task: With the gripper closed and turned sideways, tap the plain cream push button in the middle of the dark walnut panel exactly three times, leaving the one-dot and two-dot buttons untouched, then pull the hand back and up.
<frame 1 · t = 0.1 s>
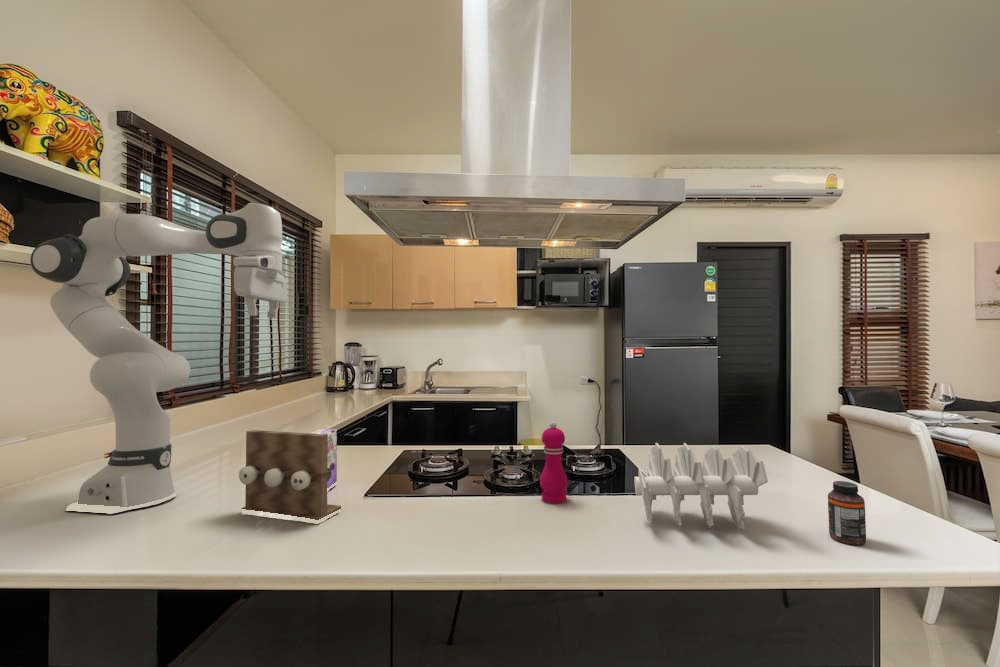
hand: (262, 317, 118), 48 cm above the countertop, tool pointing down, fingers open, 8 cm apart
button panel: (282, 517, 105), on the countertop
pepper mill: (553, 500, 116), on the countertop
one dot button: (255, 472, 107), point 10 cm above the countertop, slide at 0.0 cm
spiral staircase: (694, 525, 99), on the countertop
two dot button: (306, 477, 102), point 10 cm above the countertop, slide at 0.0 cm
supplement bottle: (847, 541, 90), on the countertop
candy box: (317, 494, 122), on the countertop
plain button: (280, 475, 104), point 10 cm above the countertop, slide at 0.0 cm
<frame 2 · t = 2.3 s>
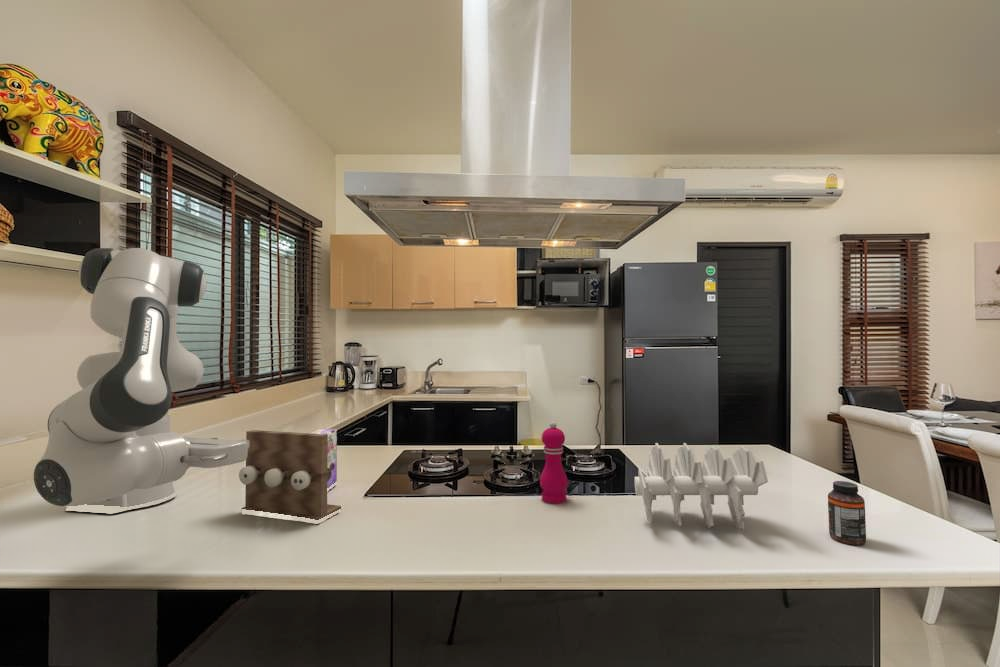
hand: (230, 442, 92), 20 cm above the countertop, tool horizontal, fingers open, 7 cm apart
nothing on the countertop moved.
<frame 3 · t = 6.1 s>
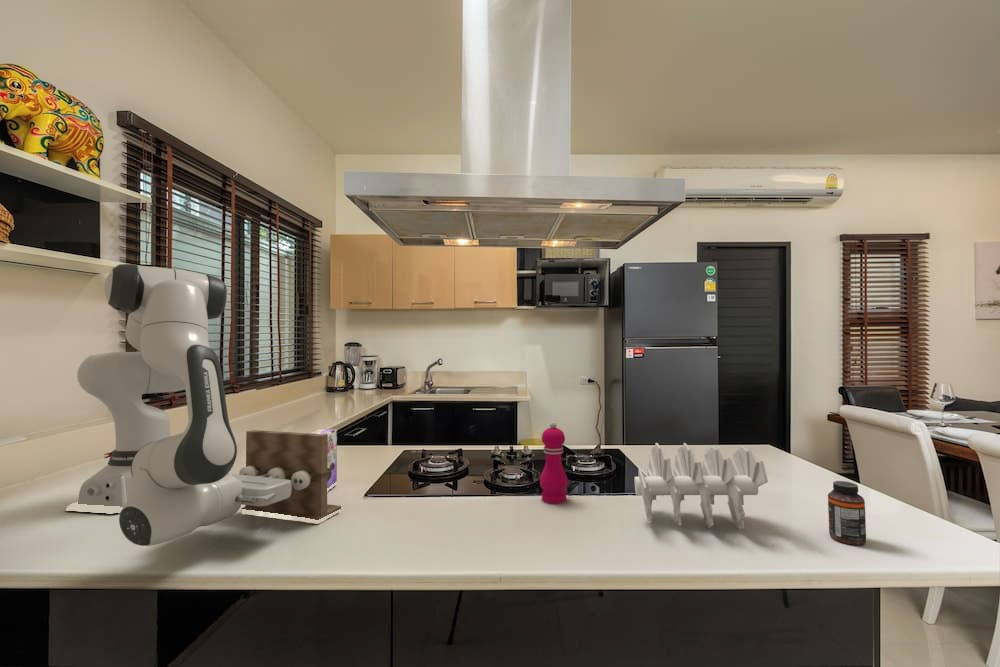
hand: (273, 478, 102), 10 cm above the countertop, tool horizontal, fingers closed, pressing on plain button
plain button: (282, 474, 105), point 10 cm above the countertop, slide at 0.7 cm, touching gripper
everything else where it was.
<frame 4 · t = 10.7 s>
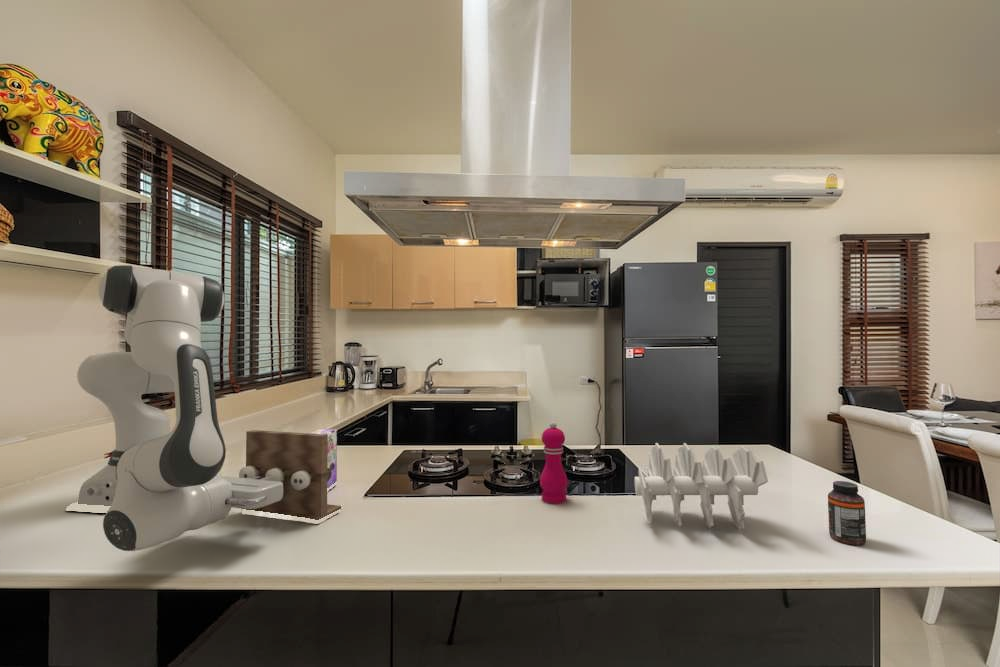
hand: (265, 480, 100), 10 cm above the countertop, tool horizontal, fingers closed
plain button: (281, 474, 105), point 10 cm above the countertop, slide at 0.2 cm
everything else where it was.
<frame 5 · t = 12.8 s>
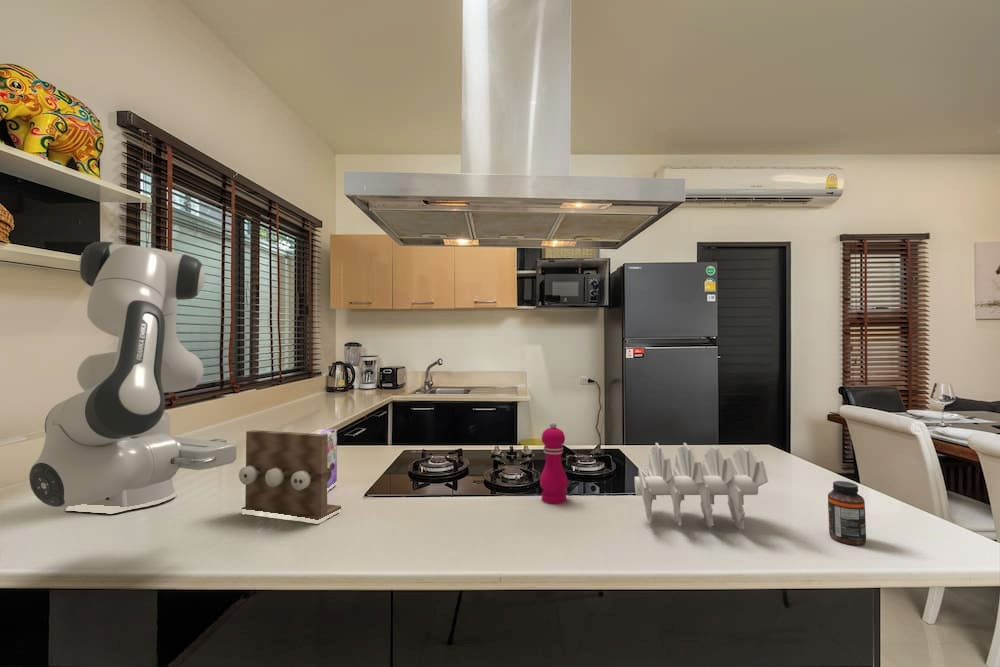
hand: (221, 442, 95), 20 cm above the countertop, tool horizontal, fingers closed
nothing on the countertop moved.
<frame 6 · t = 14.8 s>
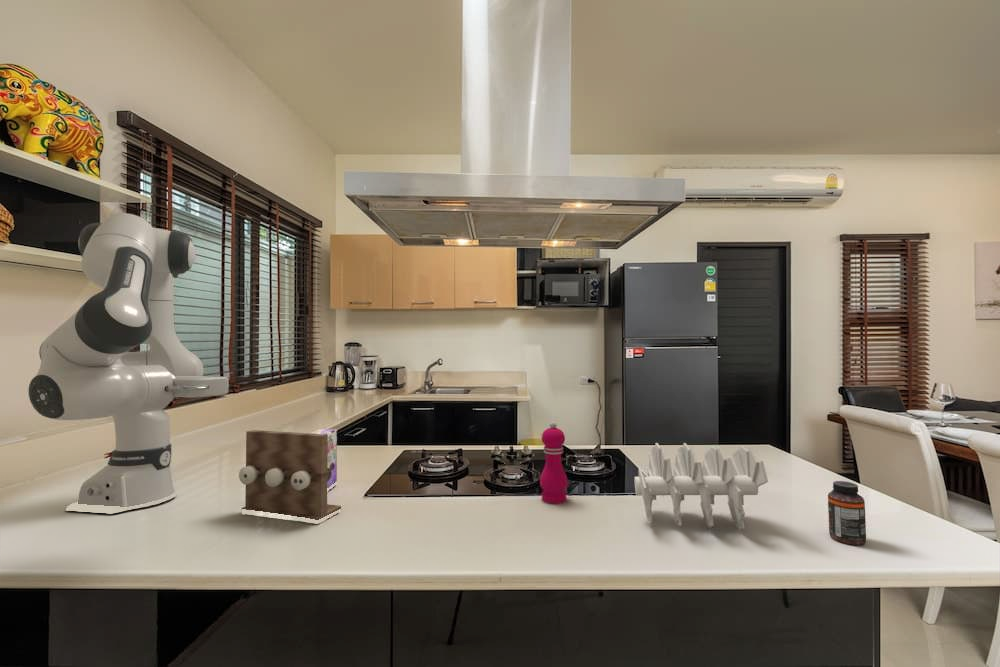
hand: (214, 383, 98), 32 cm above the countertop, tool horizontal, fingers closed
nothing on the countertop moved.
at the end: plain button slide at 0.2 cm; one dot button slide at 0.0 cm; two dot button slide at 0.0 cm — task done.
